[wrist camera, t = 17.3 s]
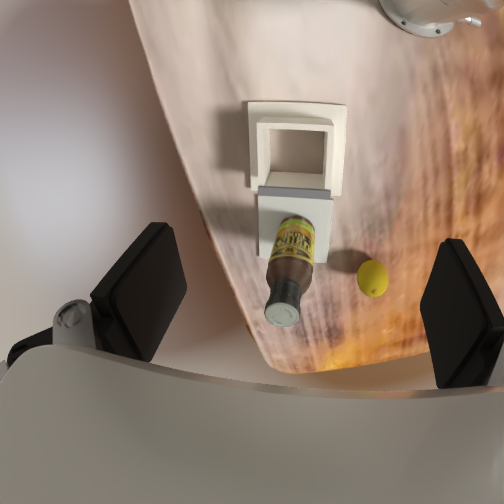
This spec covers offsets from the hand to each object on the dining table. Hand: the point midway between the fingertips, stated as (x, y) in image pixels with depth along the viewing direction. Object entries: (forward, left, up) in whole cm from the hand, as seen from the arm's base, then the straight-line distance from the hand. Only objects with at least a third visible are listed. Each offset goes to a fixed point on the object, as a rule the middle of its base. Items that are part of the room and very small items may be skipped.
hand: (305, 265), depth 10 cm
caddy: (+2, +5, -36) cm, 36 cm away
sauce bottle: (+1, +18, -36) cm, 40 cm away
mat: (+2, +19, -36) cm, 41 cm away
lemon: (-12, +25, -36) cm, 46 cm away
